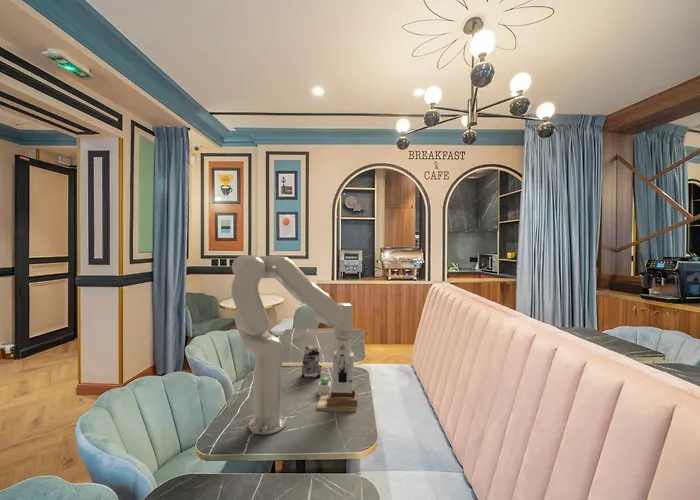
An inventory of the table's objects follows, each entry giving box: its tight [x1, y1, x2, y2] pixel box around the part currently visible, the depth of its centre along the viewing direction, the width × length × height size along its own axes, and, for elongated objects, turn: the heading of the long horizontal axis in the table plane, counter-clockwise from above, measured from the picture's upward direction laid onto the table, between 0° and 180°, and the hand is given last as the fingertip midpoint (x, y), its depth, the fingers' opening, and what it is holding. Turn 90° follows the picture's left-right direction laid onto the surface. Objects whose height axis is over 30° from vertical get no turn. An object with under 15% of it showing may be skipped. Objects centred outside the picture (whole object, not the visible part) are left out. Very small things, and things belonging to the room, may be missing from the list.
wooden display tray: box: [316, 388, 359, 412], centre depth 140 cm, size 13×15×4 cm
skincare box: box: [331, 350, 355, 393], centre depth 140 cm, size 8×6×15 cm
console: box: [317, 380, 332, 396], centre depth 150 cm, size 5×5×4 cm
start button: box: [320, 376, 330, 384], centre depth 150 cm, size 4×4×5 cm
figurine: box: [301, 344, 322, 378], centre depth 167 cm, size 9×12×15 cm
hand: (343, 378), depth 140 cm, fingers closed on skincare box, 5 cm apart
